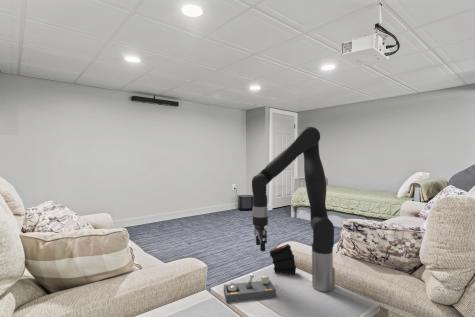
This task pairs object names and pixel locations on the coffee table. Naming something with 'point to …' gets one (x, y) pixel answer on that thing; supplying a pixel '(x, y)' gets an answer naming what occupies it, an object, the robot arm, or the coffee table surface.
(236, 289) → the button
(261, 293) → the panel
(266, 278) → the slider
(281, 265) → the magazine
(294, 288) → the coffee table surface
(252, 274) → the toggle
